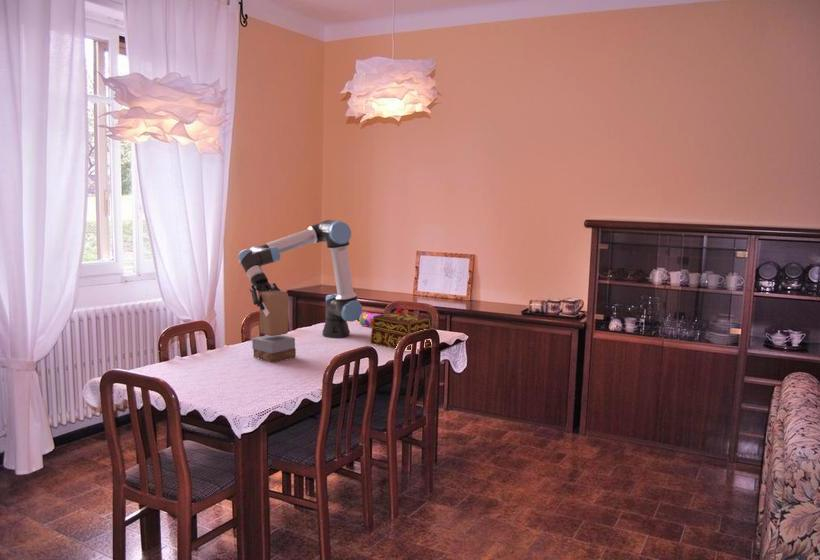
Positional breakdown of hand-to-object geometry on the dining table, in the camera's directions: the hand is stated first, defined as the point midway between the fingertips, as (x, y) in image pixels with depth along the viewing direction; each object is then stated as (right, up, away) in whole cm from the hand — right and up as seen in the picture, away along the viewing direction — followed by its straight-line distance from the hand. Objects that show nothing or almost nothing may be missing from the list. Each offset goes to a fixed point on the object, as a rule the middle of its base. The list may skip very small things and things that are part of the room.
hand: (277, 313), depth 309 cm
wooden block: (-2, -10, +3) cm, 11 cm away
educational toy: (+57, -15, +66) cm, 88 cm away
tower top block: (-3, -17, +4) cm, 17 cm away
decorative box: (+57, -19, +37) cm, 71 cm away
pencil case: (+41, -13, +81) cm, 92 cm away
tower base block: (-2, -22, +5) cm, 22 cm away
